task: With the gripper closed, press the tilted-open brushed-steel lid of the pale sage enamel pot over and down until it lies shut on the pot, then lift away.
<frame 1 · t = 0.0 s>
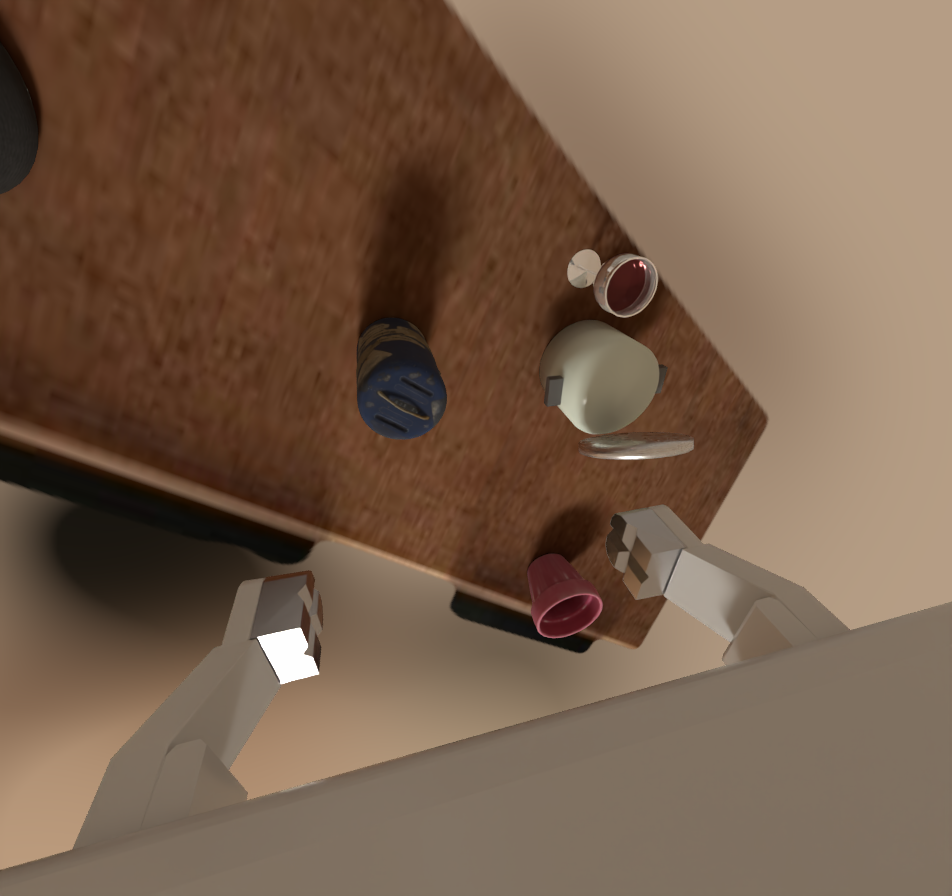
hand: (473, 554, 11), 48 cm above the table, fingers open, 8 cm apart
wineglass: (583, 268, 56), on the table
canister: (392, 348, 56), on the table
pot: (580, 364, 64), on the table
plant pot: (545, 566, 91), on the table
lid: (633, 448, 53), point 17 cm above the table, hinge at 65.0°
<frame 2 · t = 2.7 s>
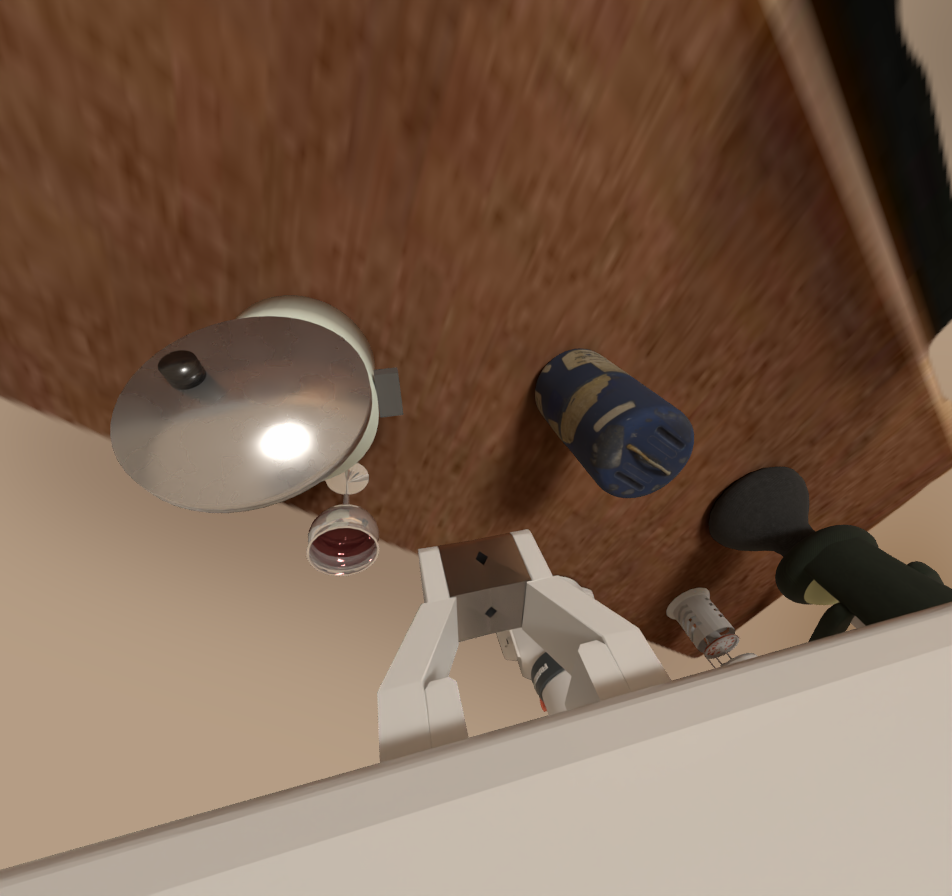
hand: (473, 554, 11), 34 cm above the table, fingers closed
wineglass: (347, 477, 49), on the table
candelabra: (743, 496, 69), on the table
canister: (567, 382, 49), on the table
pot: (303, 368, 41), on the table
french press: (686, 605, 84), on the table
lid: (247, 394, 24), point 17 cm above the table, hinge at 65.0°
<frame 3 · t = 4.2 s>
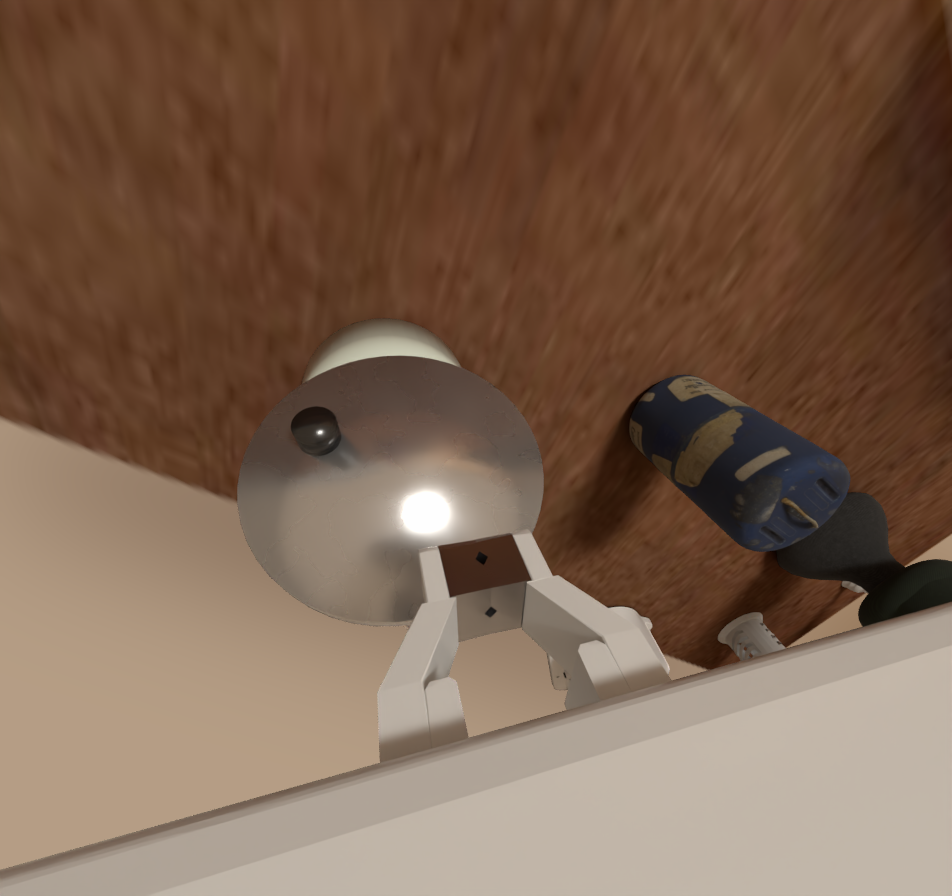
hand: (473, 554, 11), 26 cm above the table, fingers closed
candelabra: (813, 521, 65), on the table
canister: (661, 409, 44), on the table
pot: (387, 398, 36), on the table
french press: (738, 629, 81), on the table
lid: (398, 462, 19), point 17 cm above the table, hinge at 65.0°
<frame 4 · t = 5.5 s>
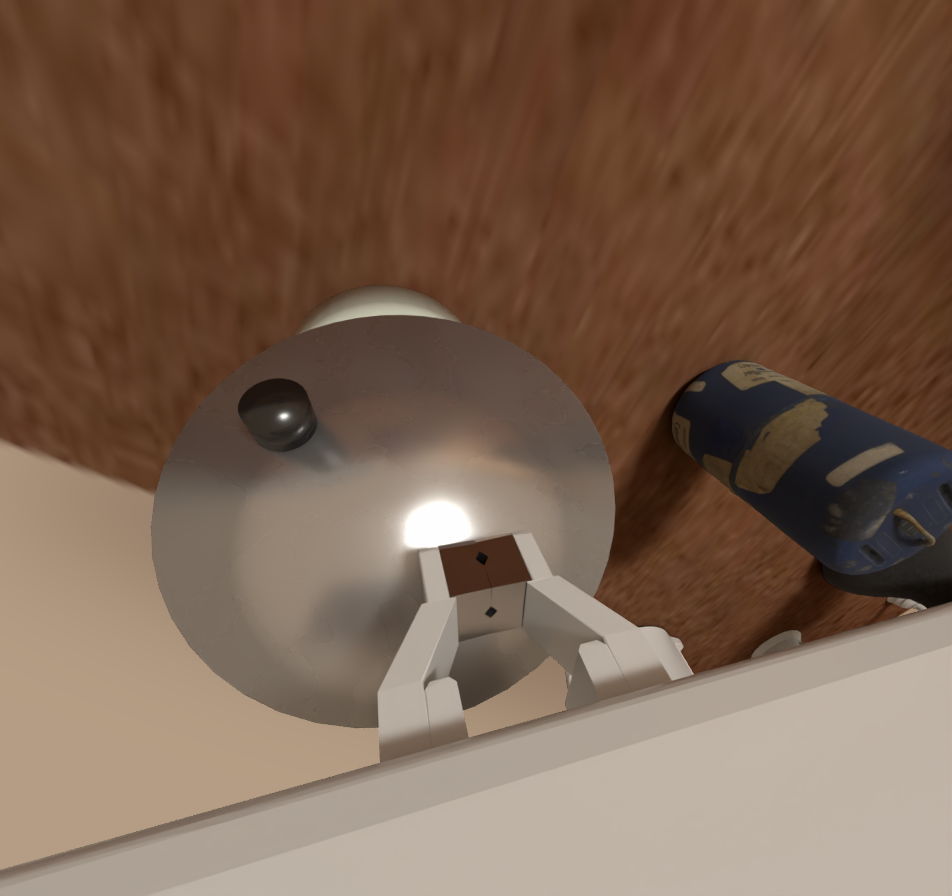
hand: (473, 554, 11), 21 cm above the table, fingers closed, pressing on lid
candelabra: (864, 531, 58), on the table
canister: (708, 402, 38), on the table
pot: (388, 386, 30), on the table
french press: (773, 648, 74), on the table
chalice: (898, 591, 73), on the table
lid: (400, 461, 13), point 17 cm above the table, hinge at 64.4°, touching gripper
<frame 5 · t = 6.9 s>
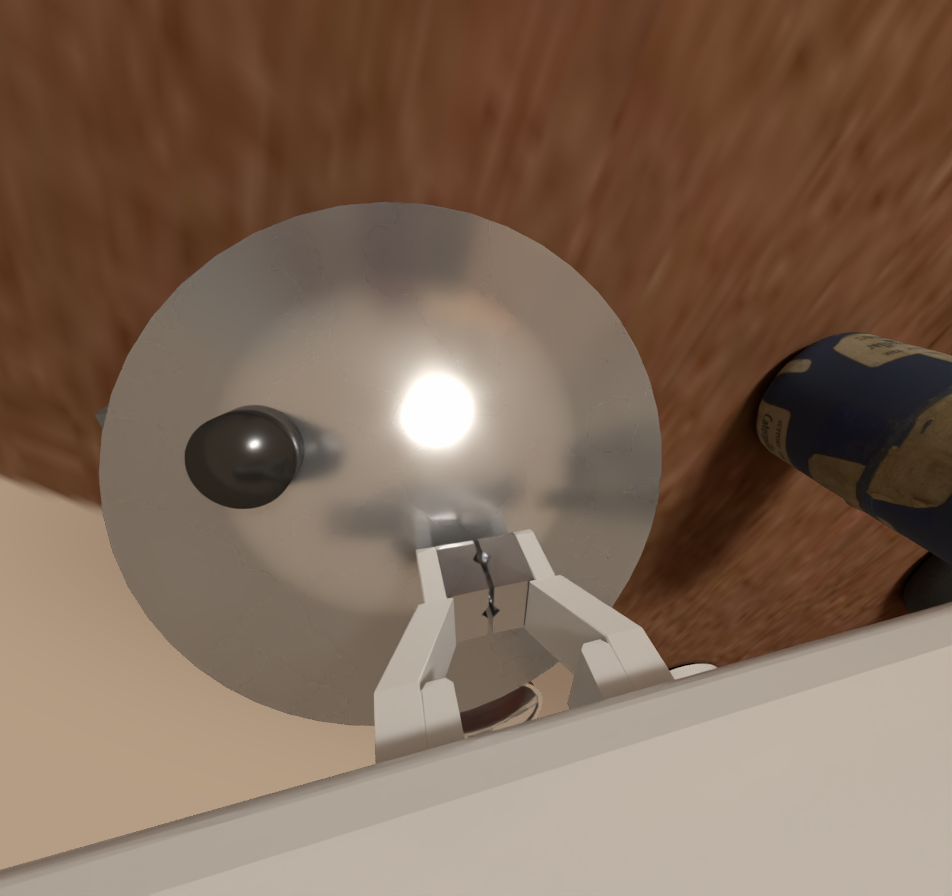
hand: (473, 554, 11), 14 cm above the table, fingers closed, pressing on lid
wineglass: (440, 542, 30), on the table
canister: (801, 390, 30), on the table
lid: (420, 507, 10), point 13 cm above the table, hinge at 16.4°, touching gripper
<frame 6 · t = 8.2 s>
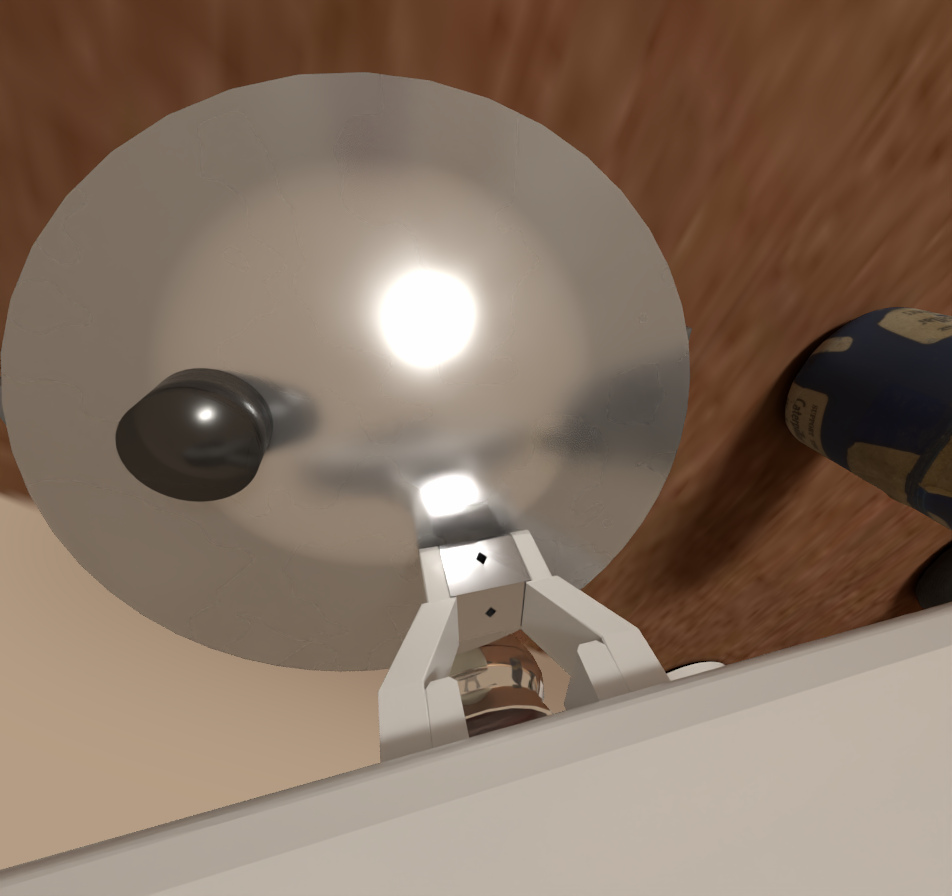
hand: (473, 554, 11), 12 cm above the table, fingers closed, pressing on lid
wineglass: (438, 540, 27), on the table
canister: (833, 372, 27), on the table
lid: (412, 482, 9), point 12 cm above the table, hinge at 2.3°, touching gripper
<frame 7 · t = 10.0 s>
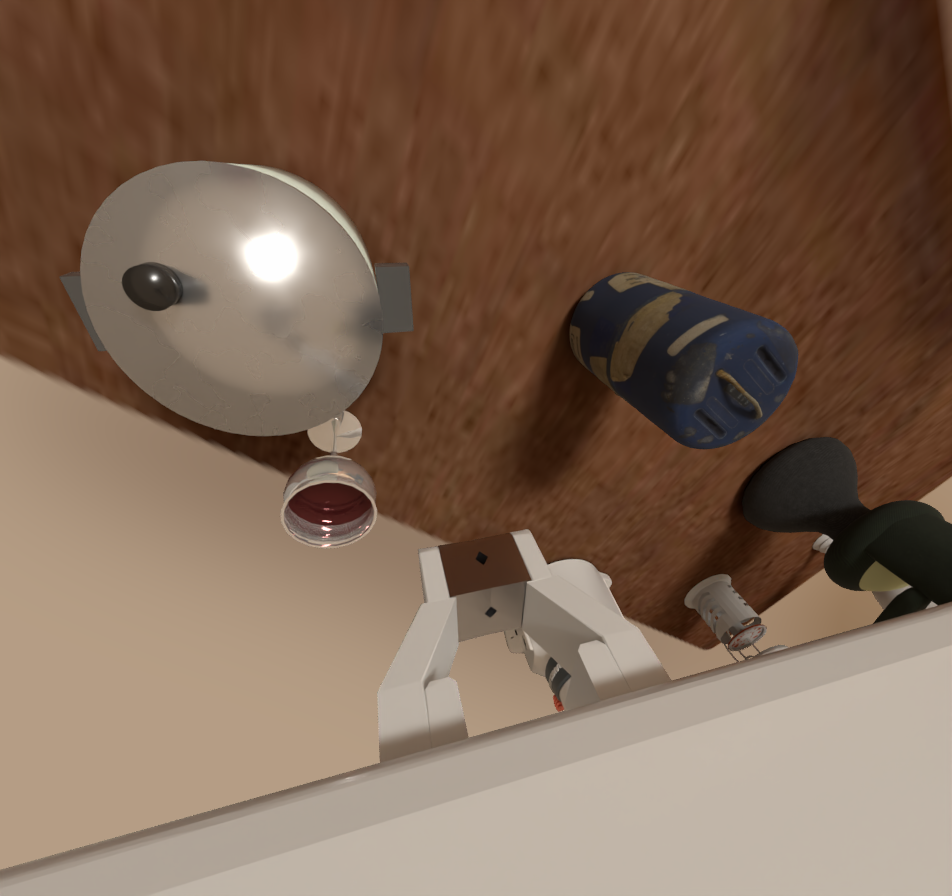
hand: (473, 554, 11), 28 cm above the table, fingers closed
wineglass: (335, 430, 39), on the table
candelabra: (781, 471, 62), on the table
canister: (606, 319, 40), on the table
pot: (279, 276, 31), on the table
french press: (706, 593, 78), on the table
chalice: (824, 539, 77), on the table
lid: (248, 322, 22), point 12 cm above the table, hinge at 2.3°
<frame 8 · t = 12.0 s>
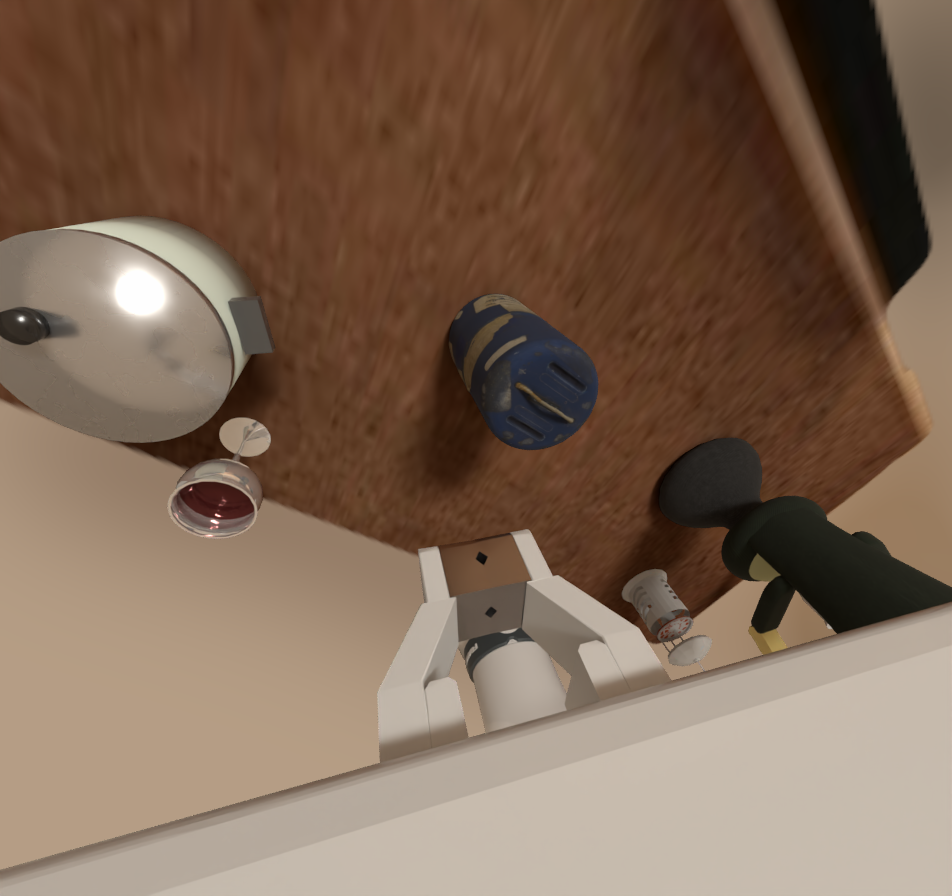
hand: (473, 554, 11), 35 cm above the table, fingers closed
wineglass: (245, 436, 44), on the table
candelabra: (695, 470, 65), on the table
canister: (487, 334, 45), on the table
pot: (174, 306, 36), on the table
french press: (643, 587, 81), on the table
lid: (109, 350, 27), point 12 cm above the table, hinge at 2.3°
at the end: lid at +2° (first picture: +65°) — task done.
